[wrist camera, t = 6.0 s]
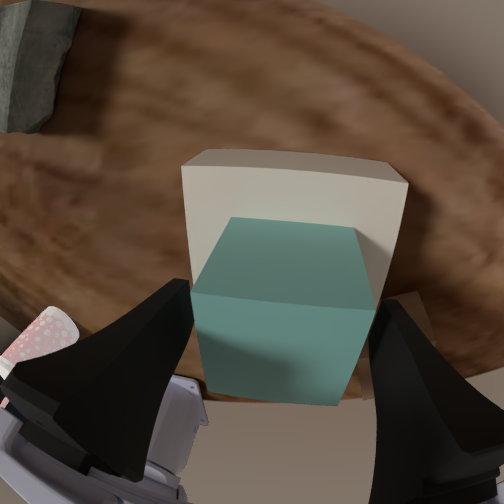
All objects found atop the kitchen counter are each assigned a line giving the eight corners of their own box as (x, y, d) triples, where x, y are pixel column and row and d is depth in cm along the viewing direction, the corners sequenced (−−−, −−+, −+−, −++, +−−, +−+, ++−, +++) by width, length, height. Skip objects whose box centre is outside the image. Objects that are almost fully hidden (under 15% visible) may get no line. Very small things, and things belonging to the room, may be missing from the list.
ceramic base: (357, 304, 18) (363, 345, 15) (216, 291, 19) (200, 329, 16) (386, 162, 13) (408, 183, 10) (207, 148, 14) (181, 166, 11)
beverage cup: (70, 348, 28) (11, 441, 16) (34, 308, 25) (-36, 397, 13) (94, 339, 25) (25, 452, 13) (53, 293, 23) (-32, 400, 11)
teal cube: (334, 319, 14) (337, 406, 10) (234, 309, 15) (207, 391, 10) (353, 227, 11) (375, 310, 7) (231, 216, 12) (190, 292, 8)
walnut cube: (416, 336, 18) (429, 385, 15) (358, 349, 20) (362, 400, 16) (416, 289, 17) (436, 340, 13) (350, 304, 18) (356, 359, 14)
